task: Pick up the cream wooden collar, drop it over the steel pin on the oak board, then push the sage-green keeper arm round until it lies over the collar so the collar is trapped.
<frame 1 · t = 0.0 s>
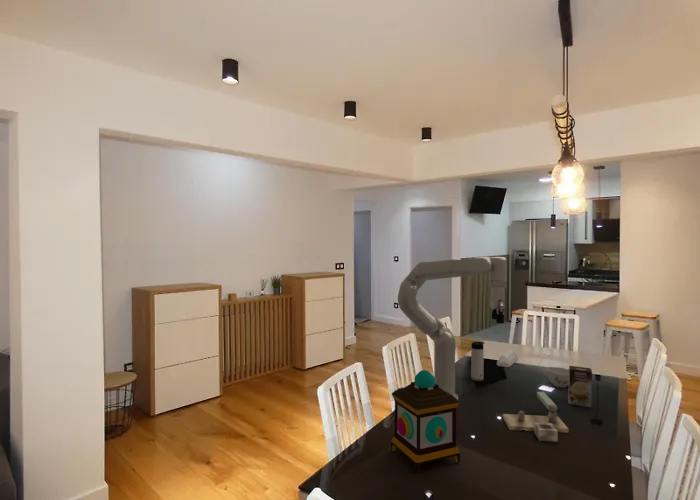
hand: (497, 321, 204), 37 cm above the table, tool pointing down, fingers open, 9 cm apart
collar: (545, 437, 167), on the table
travel mug: (477, 379, 235), on the table
crystal: (507, 363, 266), on the table
coffee box: (579, 404, 201), on the table
pintle board: (534, 424, 178), on the table
decorative lantern: (424, 457, 152), on the table
teacup: (560, 385, 225), on the table
keeper: (546, 401, 184), point 7 cm above the table, hinge at 0.0°
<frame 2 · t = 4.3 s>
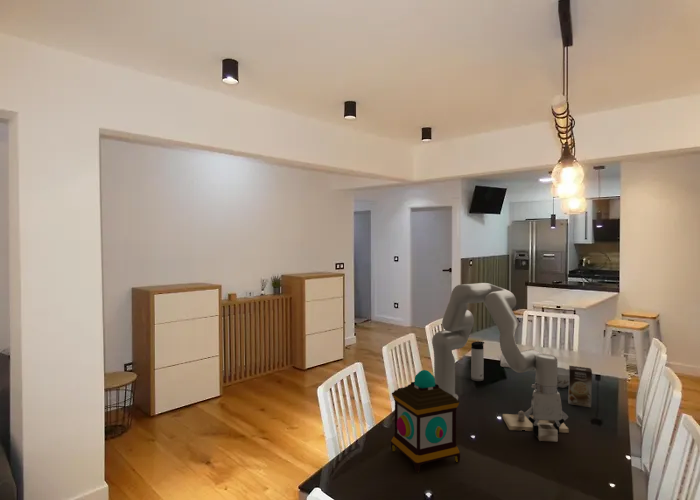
hand: (545, 434, 167), 1 cm above the table, tool pointing down, fingers closed on collar, 6 cm apart
collar: (545, 437, 167), on the table, touching gripper
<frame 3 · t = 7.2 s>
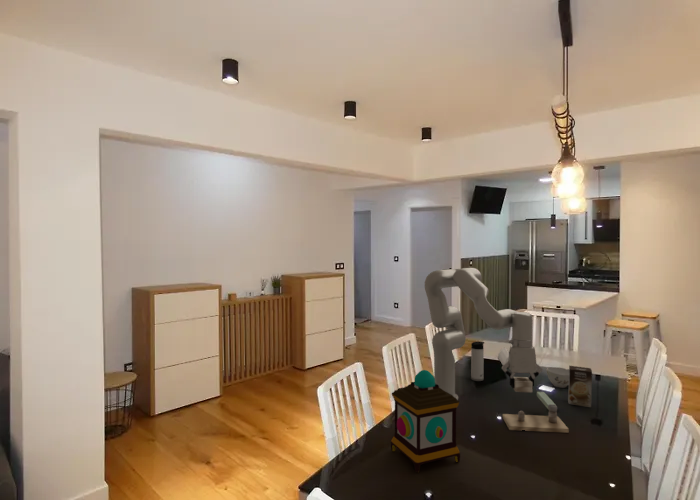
hand: (521, 387, 178), 15 cm above the table, tool pointing down, fingers closed on collar, 6 cm apart
collar: (521, 389, 178), point 14 cm above the table, touching gripper
when the fingers open (4 cm above the table, at t = 10.1 s): collar drops 2 cm, resting on pintle board.
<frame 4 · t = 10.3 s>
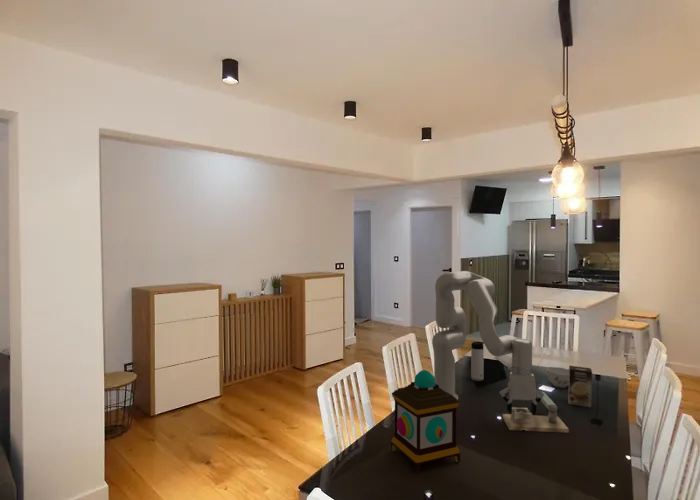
hand: (521, 412, 178), 5 cm above the table, tool pointing down, fingers open, 8 cm apart
collar: (521, 420, 179), point 1 cm above the table, touching pintle board
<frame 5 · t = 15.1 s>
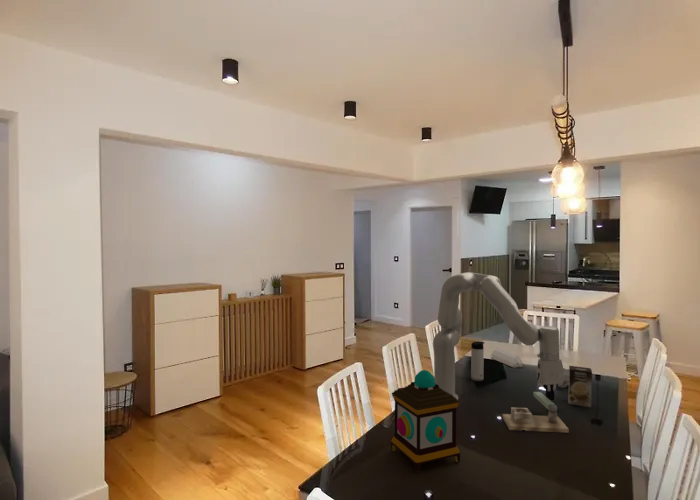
hand: (550, 399, 187), 7 cm above the table, tool pointing down, fingers closed
keeper: (545, 401, 184), point 7 cm above the table, hinge at 5.2°, touching gripper
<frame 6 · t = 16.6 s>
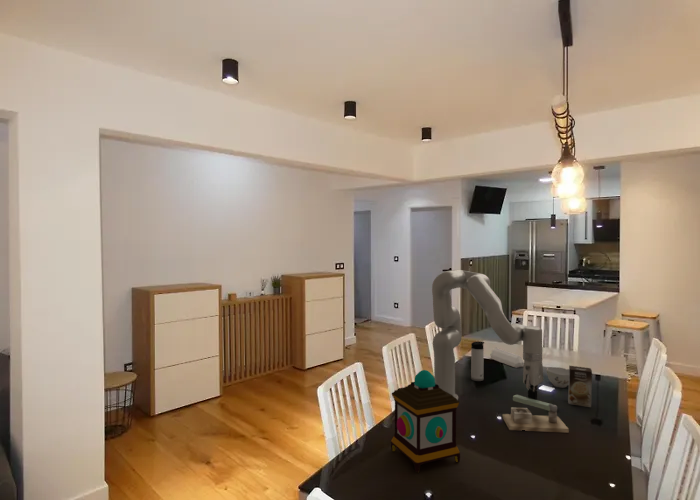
hand: (532, 399, 186), 7 cm above the table, tool pointing down, fingers closed
keeper: (534, 403, 182), point 7 cm above the table, hinge at 49.8°, touching gripper
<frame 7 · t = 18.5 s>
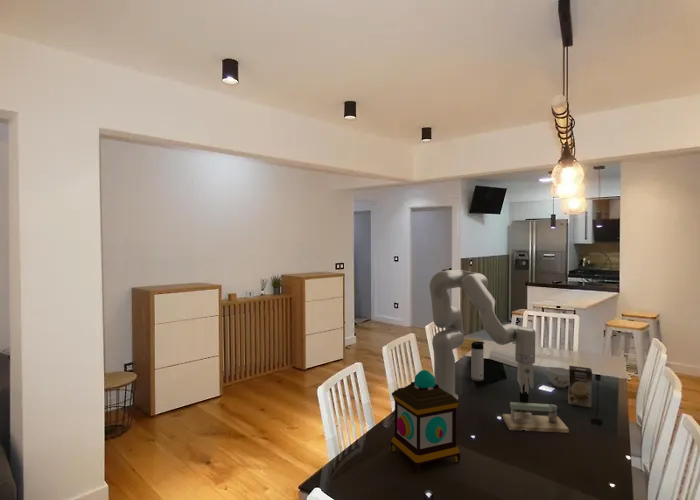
hand: (523, 402, 182), 8 cm above the table, tool pointing down, fingers closed
keeper: (533, 406, 178), point 7 cm above the table, hinge at 86.8°
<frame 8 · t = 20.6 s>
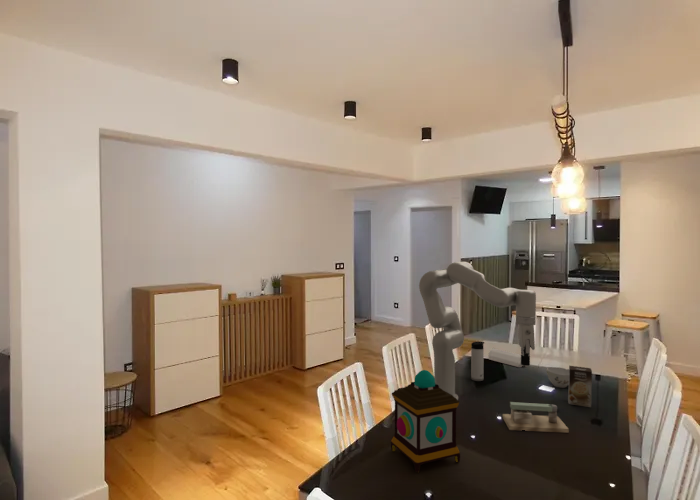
hand: (525, 364, 181), 23 cm above the table, tool pointing down, fingers closed
at the end: collar 0.1 cm from the target spot, point 1.5 cm above the table; keeper at +87° (first picture: +0°); collar tilted 0° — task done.
